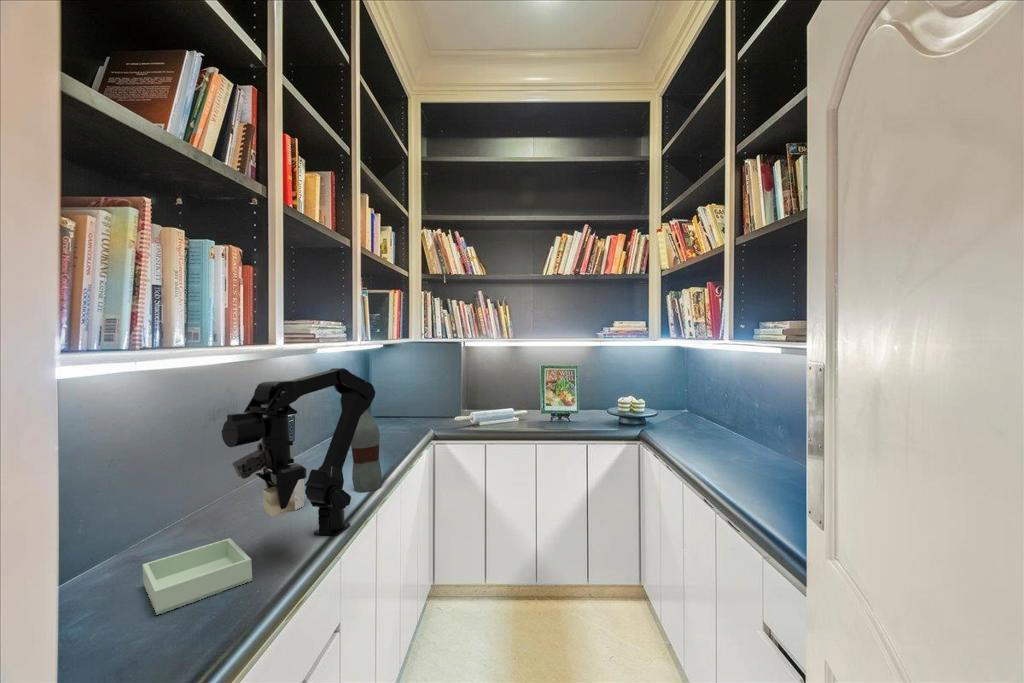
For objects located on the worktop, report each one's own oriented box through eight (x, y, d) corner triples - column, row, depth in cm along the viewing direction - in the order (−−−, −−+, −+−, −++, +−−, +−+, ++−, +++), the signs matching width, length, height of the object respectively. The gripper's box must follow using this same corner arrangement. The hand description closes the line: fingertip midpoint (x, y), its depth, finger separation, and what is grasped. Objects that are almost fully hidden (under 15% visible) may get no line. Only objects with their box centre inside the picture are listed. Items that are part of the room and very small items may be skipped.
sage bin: (231, 557, 106) (229, 538, 106) (252, 581, 95) (251, 559, 95) (143, 586, 95) (142, 564, 95) (156, 616, 84) (155, 591, 84)
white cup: (311, 506, 137) (309, 472, 137) (283, 515, 131) (281, 479, 131) (299, 501, 142) (297, 468, 142) (271, 509, 137) (269, 474, 136)
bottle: (367, 482, 158) (362, 393, 158) (388, 484, 154) (383, 393, 154) (346, 491, 150) (341, 397, 149) (368, 494, 146) (363, 397, 145)
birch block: (287, 504, 110) (285, 483, 110) (295, 509, 106) (293, 487, 106) (263, 511, 106) (262, 489, 106) (271, 516, 103) (270, 493, 103)
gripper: (223, 438, 107) (227, 506, 107) (248, 450, 94) (253, 527, 94) (275, 430, 115) (279, 493, 115) (305, 439, 102) (309, 511, 102)
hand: (279, 505), depth 106 cm, fingers closed on birch block, 5 cm apart
